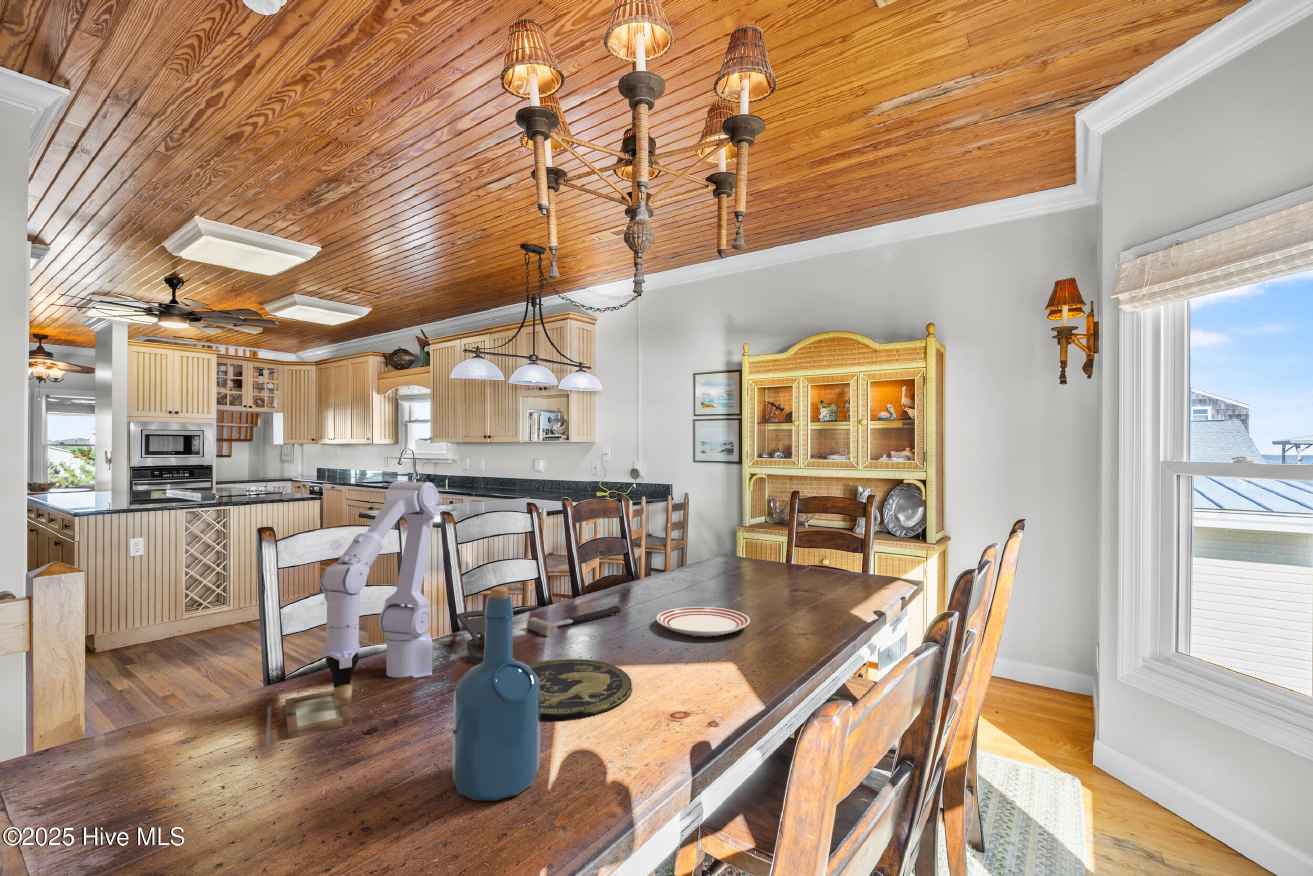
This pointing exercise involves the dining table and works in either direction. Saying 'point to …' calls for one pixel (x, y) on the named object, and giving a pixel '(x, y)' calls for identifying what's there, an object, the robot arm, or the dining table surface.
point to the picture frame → (318, 711)
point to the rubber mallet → (567, 621)
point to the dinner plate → (703, 621)
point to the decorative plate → (579, 688)
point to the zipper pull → (475, 633)
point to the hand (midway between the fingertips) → (341, 693)
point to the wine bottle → (496, 715)
